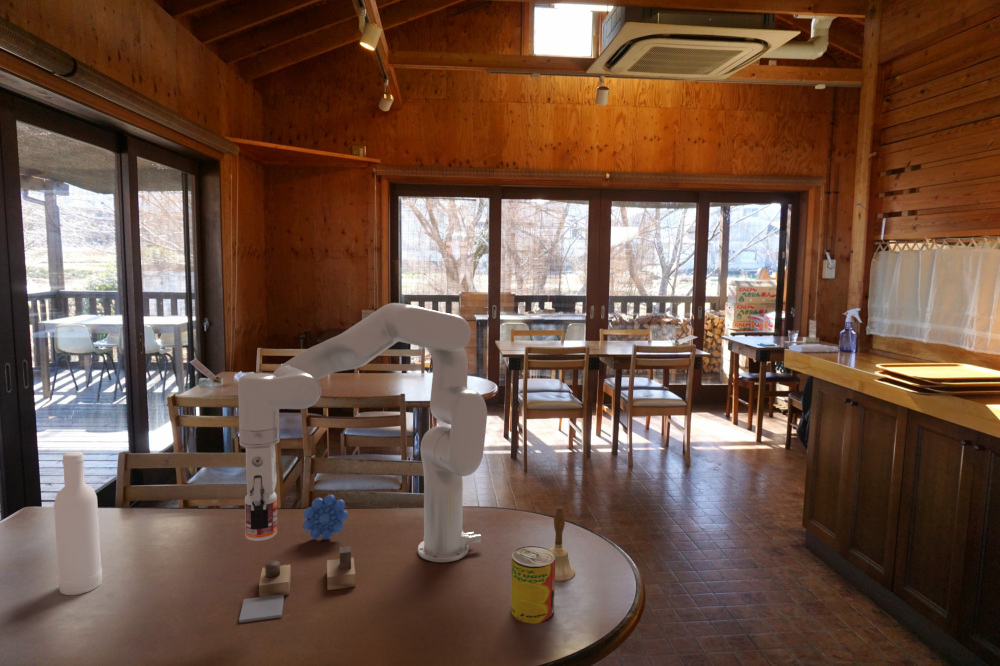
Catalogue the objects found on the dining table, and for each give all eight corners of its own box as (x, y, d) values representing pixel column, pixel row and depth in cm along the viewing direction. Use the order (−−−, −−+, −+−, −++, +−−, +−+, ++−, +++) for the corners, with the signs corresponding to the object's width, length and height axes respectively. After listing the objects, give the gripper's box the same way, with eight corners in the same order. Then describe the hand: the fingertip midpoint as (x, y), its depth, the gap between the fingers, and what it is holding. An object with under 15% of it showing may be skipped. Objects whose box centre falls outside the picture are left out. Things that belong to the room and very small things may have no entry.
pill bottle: (280, 537, 126) (280, 483, 125) (248, 544, 123) (247, 488, 121) (273, 526, 131) (273, 474, 130) (241, 532, 128) (241, 479, 127)
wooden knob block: (353, 569, 145) (353, 540, 145) (355, 586, 138) (355, 556, 137) (262, 580, 140) (261, 550, 139) (259, 598, 132) (258, 567, 131)
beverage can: (541, 628, 123) (542, 570, 122) (502, 614, 128) (503, 558, 126) (561, 607, 130) (562, 553, 129) (524, 595, 135) (525, 542, 134)
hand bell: (582, 572, 146) (584, 507, 144) (560, 585, 140) (562, 517, 138) (554, 560, 151) (556, 497, 150) (532, 572, 145) (533, 506, 143)
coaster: (283, 596, 133) (283, 594, 133) (281, 617, 125) (281, 614, 125) (243, 601, 131) (243, 599, 131) (239, 622, 123) (238, 620, 123)
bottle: (98, 573, 142) (90, 445, 138) (106, 586, 136) (99, 454, 133) (55, 585, 136) (46, 453, 133) (63, 600, 131) (53, 461, 127)
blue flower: (351, 531, 166) (351, 488, 164) (346, 543, 159) (346, 498, 158) (307, 532, 165) (306, 488, 163) (300, 543, 158) (299, 498, 157)
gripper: (276, 446, 117) (277, 537, 119) (282, 423, 134) (283, 504, 136) (233, 448, 115) (235, 541, 117) (244, 425, 132) (246, 506, 134)
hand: (261, 520), depth 126 cm, fingers closed on pill bottle, 6 cm apart
